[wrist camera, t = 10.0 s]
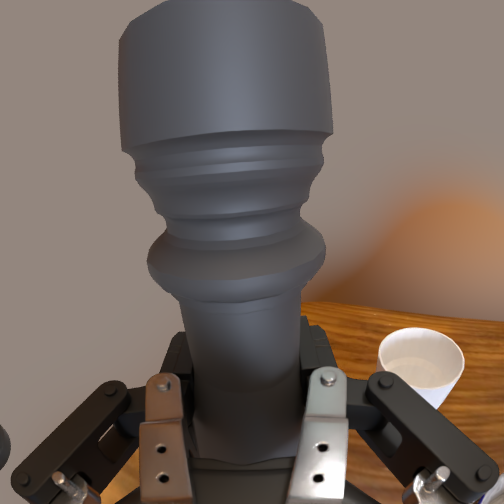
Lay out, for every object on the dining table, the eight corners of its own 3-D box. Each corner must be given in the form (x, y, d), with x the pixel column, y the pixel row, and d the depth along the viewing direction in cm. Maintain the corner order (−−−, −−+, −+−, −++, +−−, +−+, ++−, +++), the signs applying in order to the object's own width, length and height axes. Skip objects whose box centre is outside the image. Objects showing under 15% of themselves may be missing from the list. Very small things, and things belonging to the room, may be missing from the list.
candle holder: (297, 458, 18) (302, 65, 9) (311, 522, 12) (371, -5, 4) (218, 465, 18) (145, 77, 9) (219, 531, 12) (67, 20, 3)
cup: (346, 419, 29) (360, 361, 25) (388, 375, 34) (404, 318, 31) (411, 457, 21) (445, 404, 18) (445, 403, 27) (473, 346, 23)
